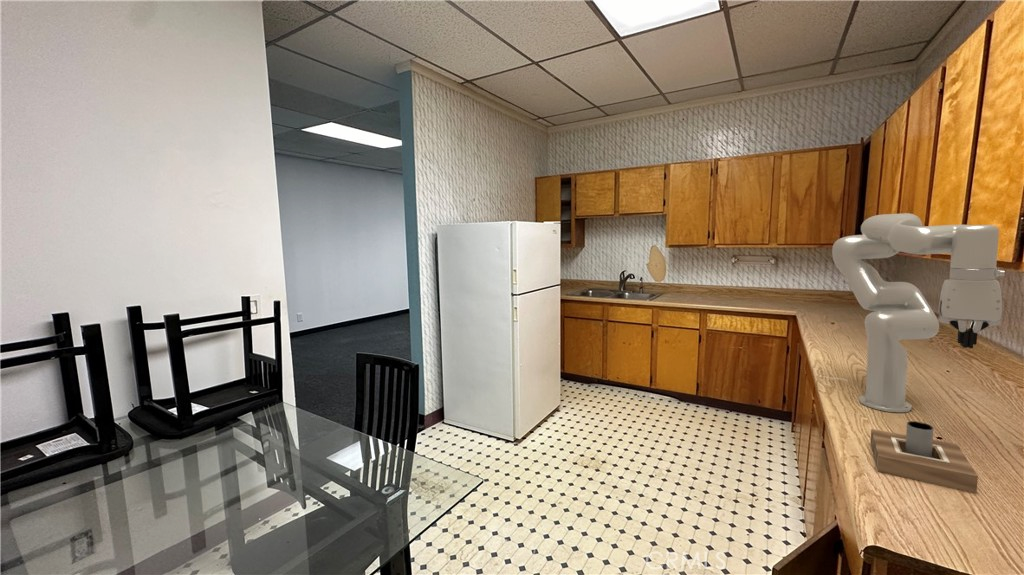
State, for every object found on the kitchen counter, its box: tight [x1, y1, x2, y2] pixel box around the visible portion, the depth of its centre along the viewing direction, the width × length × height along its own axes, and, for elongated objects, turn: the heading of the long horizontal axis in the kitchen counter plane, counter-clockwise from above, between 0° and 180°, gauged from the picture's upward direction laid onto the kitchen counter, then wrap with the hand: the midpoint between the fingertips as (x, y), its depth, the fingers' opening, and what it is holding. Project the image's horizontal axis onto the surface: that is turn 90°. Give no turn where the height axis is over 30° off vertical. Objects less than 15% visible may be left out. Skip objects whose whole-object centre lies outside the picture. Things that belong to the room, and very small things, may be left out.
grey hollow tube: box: [905, 420, 934, 458], centre depth 98 cm, size 4×4×10 cm
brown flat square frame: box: [870, 428, 979, 494], centre depth 98 cm, size 16×16×4 cm
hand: (966, 346), depth 102 cm, fingers closed
